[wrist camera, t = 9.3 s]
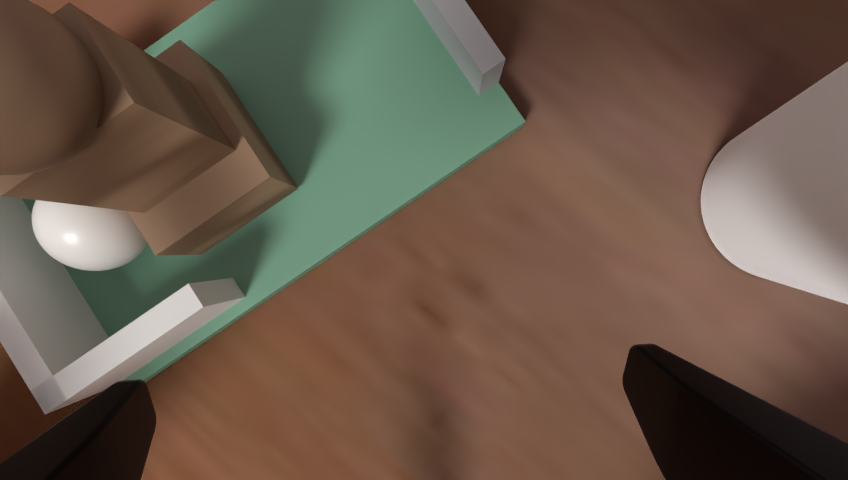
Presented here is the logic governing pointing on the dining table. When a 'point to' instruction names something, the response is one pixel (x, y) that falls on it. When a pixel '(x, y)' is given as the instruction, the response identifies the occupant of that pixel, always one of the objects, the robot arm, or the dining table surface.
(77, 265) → the ball
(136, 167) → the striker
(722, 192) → the cup
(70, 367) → the pitch
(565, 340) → the dining table surface
